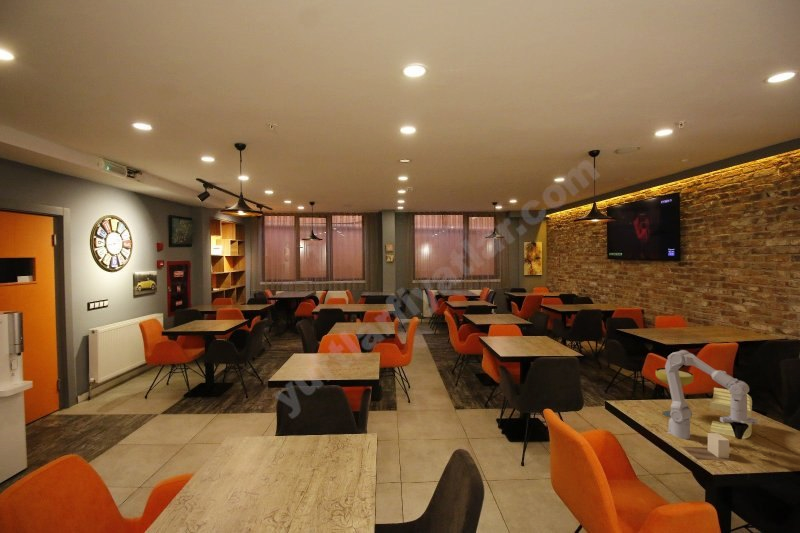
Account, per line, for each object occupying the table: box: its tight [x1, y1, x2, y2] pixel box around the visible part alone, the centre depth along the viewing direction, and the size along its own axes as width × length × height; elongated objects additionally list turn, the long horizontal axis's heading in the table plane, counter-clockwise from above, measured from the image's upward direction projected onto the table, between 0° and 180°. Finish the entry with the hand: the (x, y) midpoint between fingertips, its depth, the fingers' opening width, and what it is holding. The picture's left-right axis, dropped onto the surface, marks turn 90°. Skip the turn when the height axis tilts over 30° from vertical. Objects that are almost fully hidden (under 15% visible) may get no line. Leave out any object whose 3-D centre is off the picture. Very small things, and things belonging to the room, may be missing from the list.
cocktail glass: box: [655, 367, 695, 418], centre depth 226 cm, size 18×18×25 cm
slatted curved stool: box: [709, 387, 753, 439], centre depth 205 cm, size 30×16×18 cm, turn 138°
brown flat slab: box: [681, 446, 736, 462], centre depth 179 cm, size 12×16×2 cm
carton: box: [707, 432, 730, 458], centre depth 179 cm, size 7×4×8 cm, turn 174°
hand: (738, 438), depth 178 cm, fingers closed
